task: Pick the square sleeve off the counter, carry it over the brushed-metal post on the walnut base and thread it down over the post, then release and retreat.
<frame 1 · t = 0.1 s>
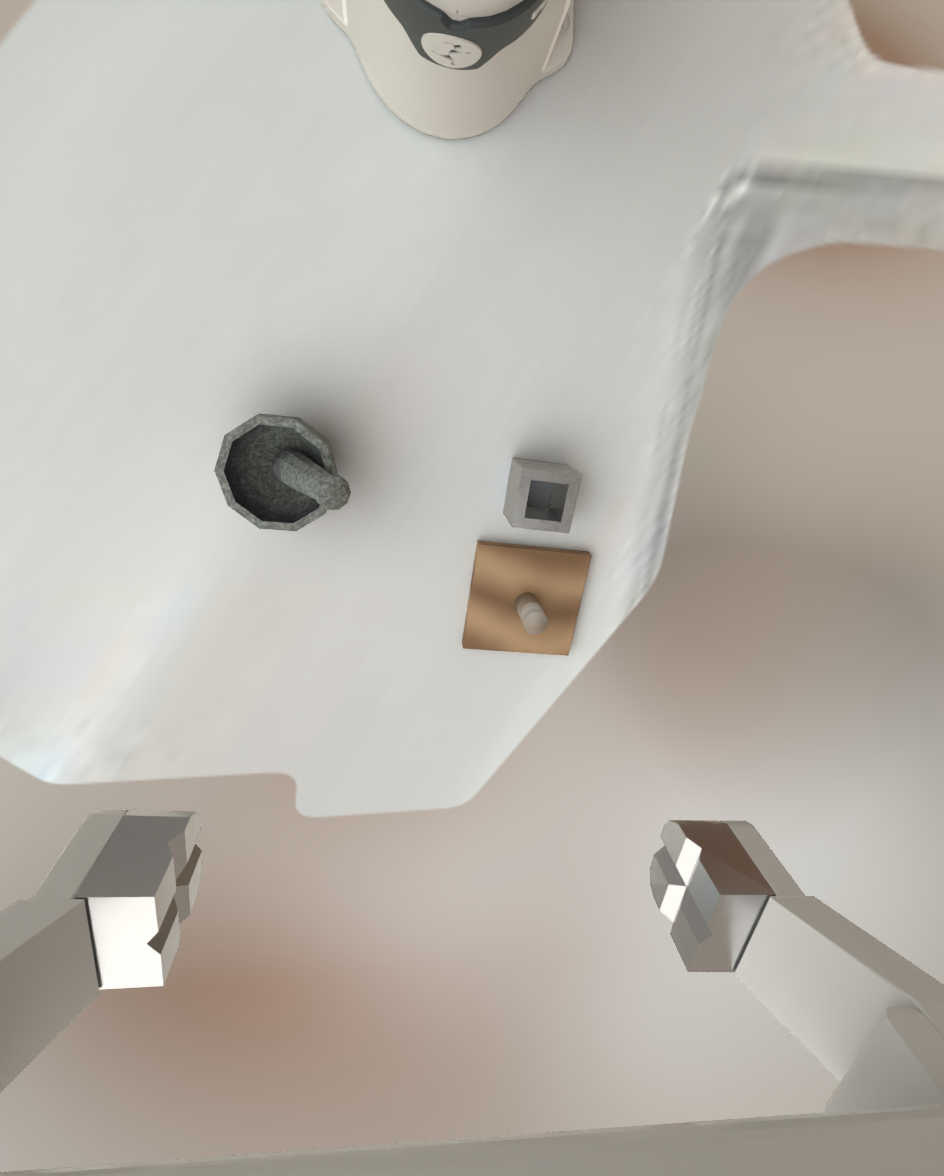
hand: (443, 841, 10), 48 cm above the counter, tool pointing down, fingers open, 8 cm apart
mortar and pestle: (299, 461, 54), on the counter
square sleeve: (534, 489, 57), on the counter
post block: (523, 598, 62), on the counter
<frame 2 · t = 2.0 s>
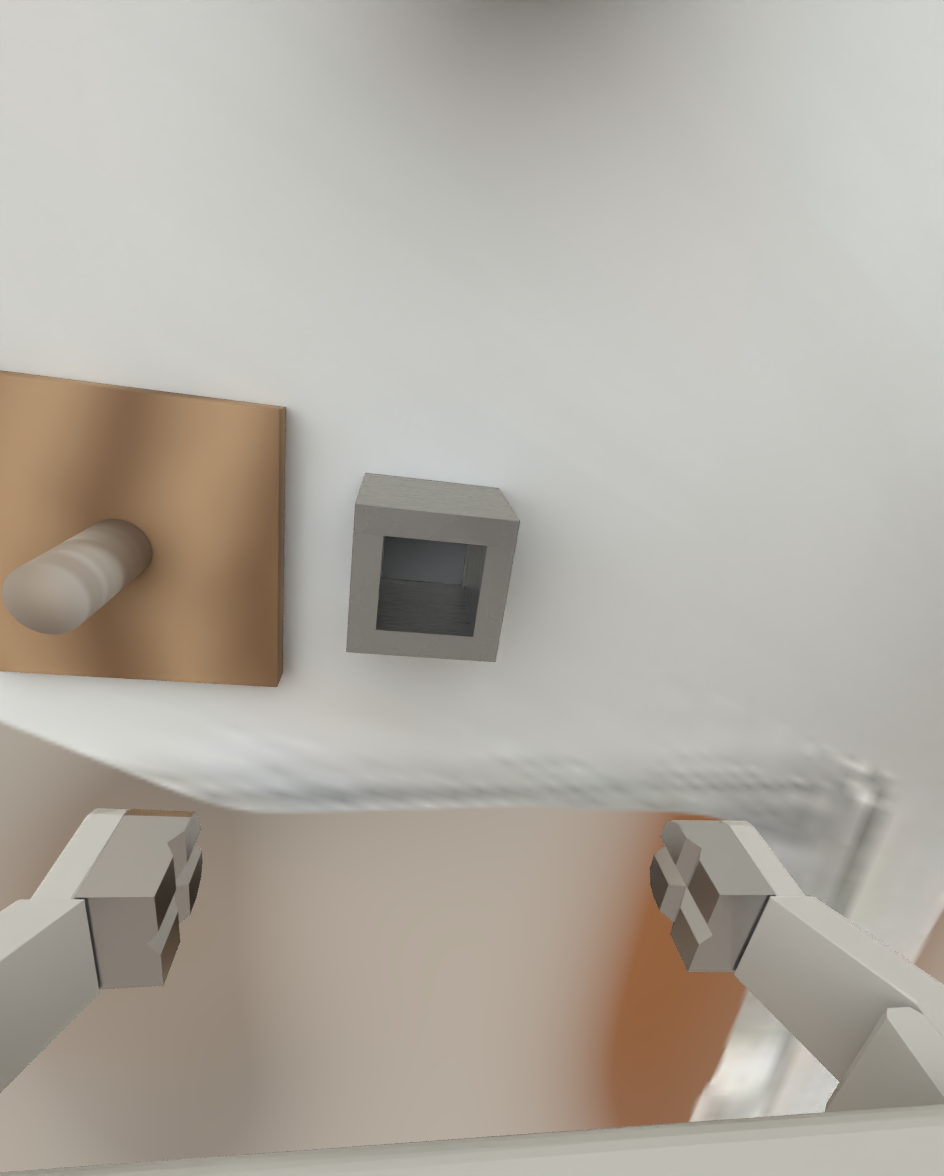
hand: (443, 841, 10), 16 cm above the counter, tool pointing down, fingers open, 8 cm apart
square sleeve: (426, 543, 25), on the counter
post block: (133, 538, 23), on the counter
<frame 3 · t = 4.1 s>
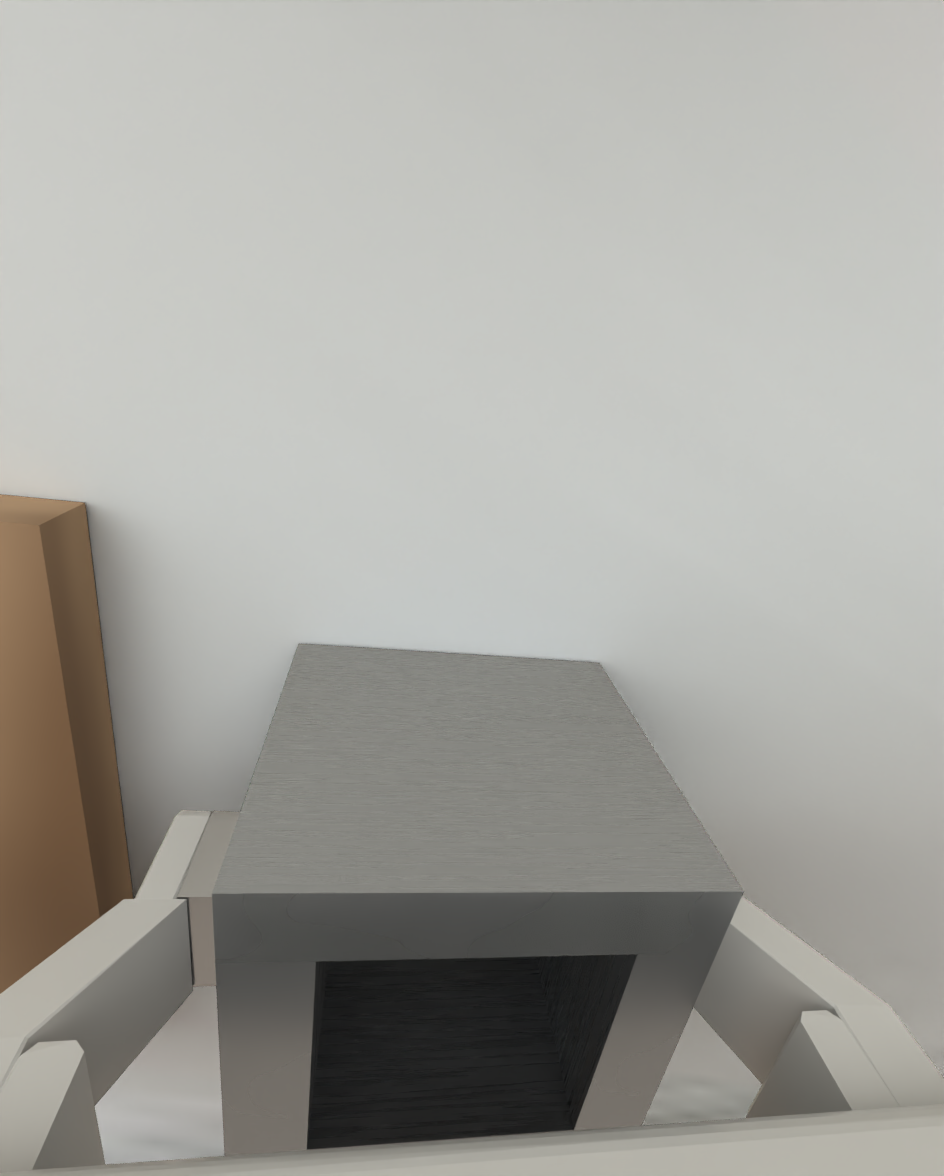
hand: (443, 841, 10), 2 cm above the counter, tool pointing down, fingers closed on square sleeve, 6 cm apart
square sleeve: (438, 774, 11), on the counter, touching gripper
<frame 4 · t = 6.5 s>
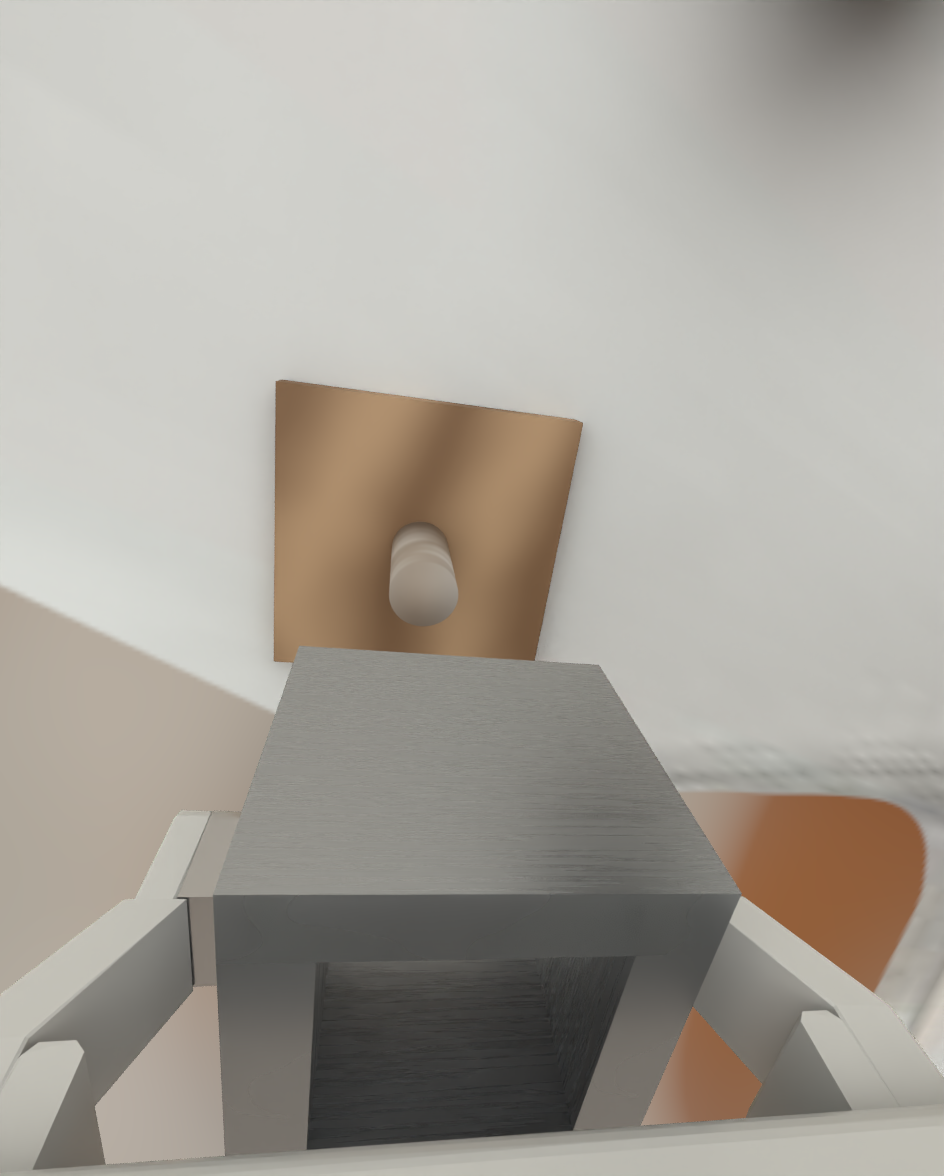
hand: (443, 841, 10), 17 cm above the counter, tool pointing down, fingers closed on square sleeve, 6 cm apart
square sleeve: (438, 776, 11), point 15 cm above the counter, touching gripper
post block: (419, 539, 25), on the counter
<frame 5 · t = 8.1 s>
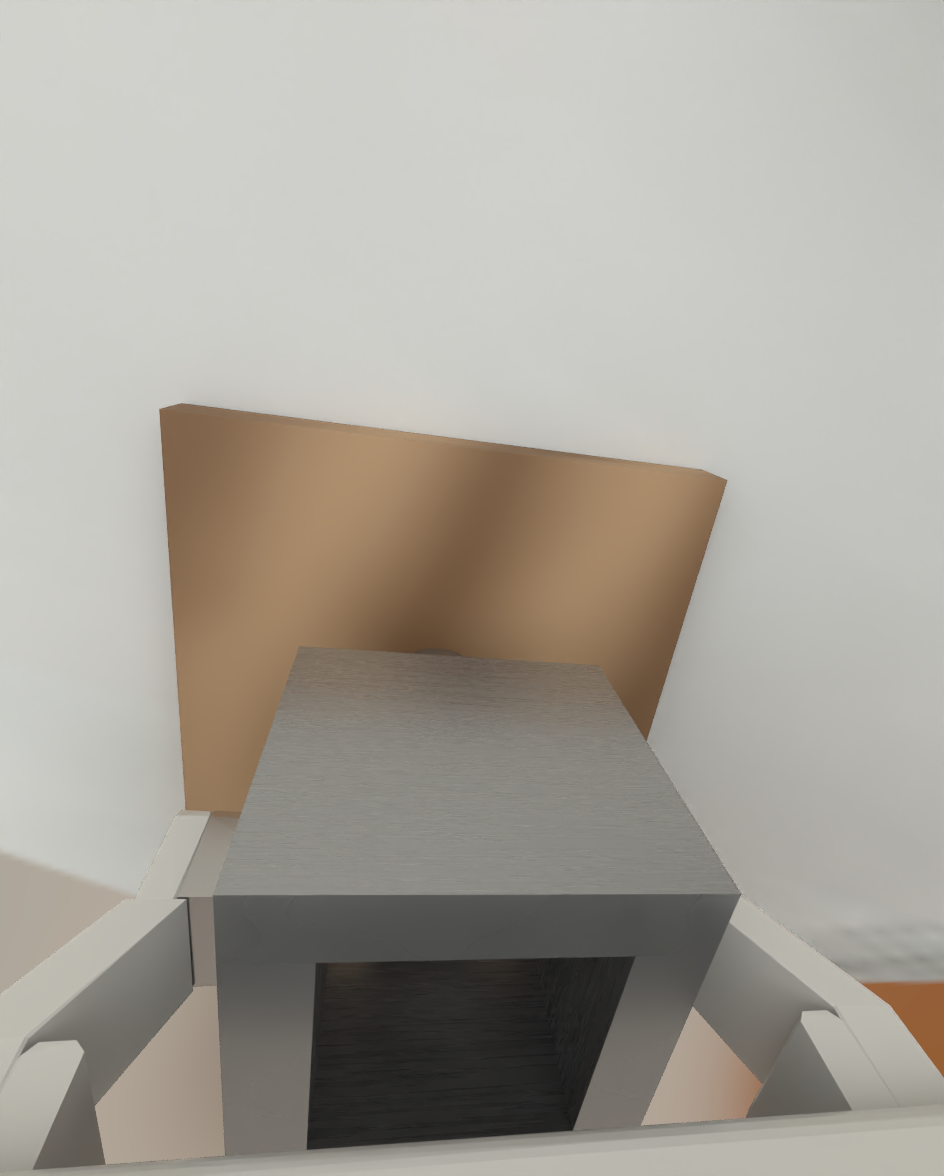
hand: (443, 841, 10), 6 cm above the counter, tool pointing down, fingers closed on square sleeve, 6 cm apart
square sleeve: (438, 776, 11), point 4 cm above the counter, touching gripper
post block: (431, 665, 15), on the counter
when the fingers open (5 cm above the counter, at t = 9.1 s): square sleeve drops 2 cm, resting on post block.
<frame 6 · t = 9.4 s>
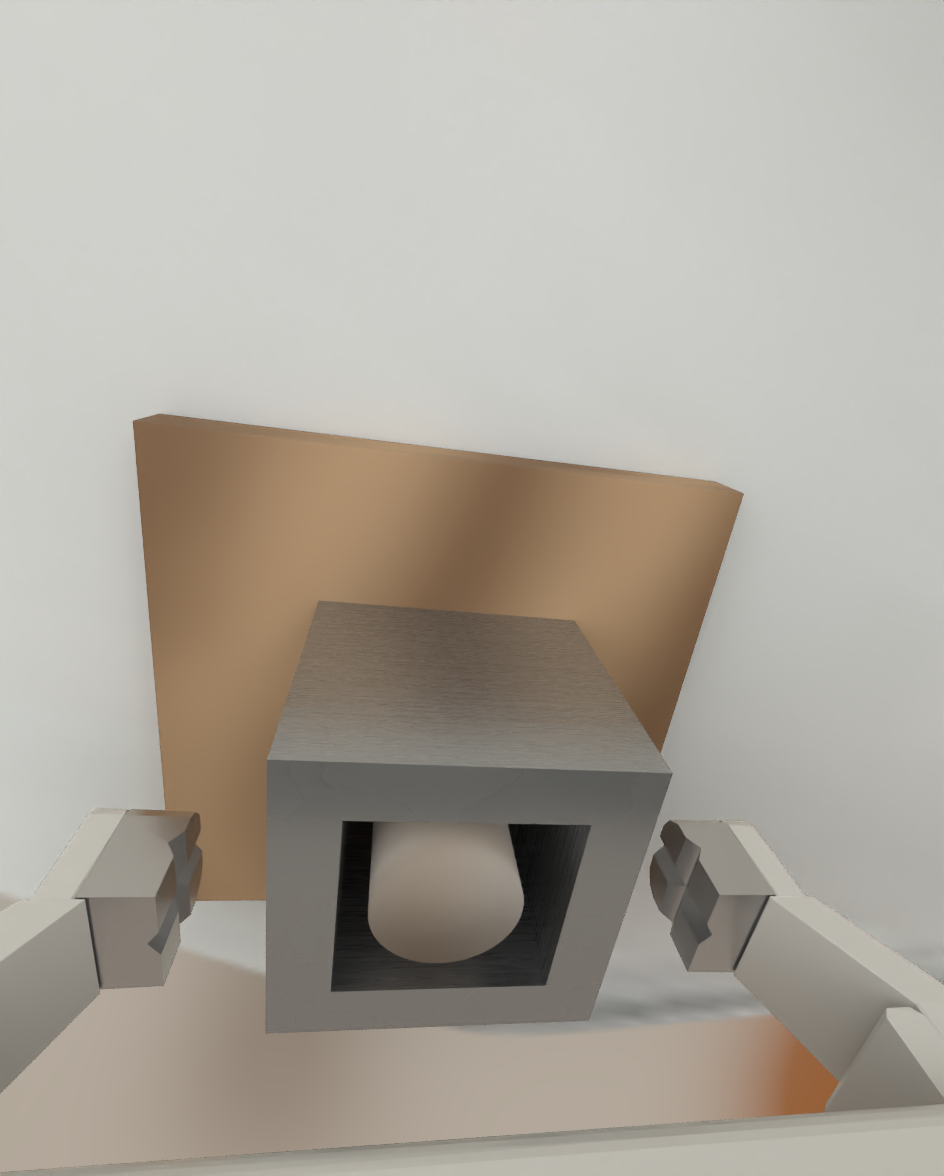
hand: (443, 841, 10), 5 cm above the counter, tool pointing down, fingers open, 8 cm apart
square sleeve: (436, 718, 13), point 1 cm above the counter, touching post block
post block: (428, 688, 14), on the counter
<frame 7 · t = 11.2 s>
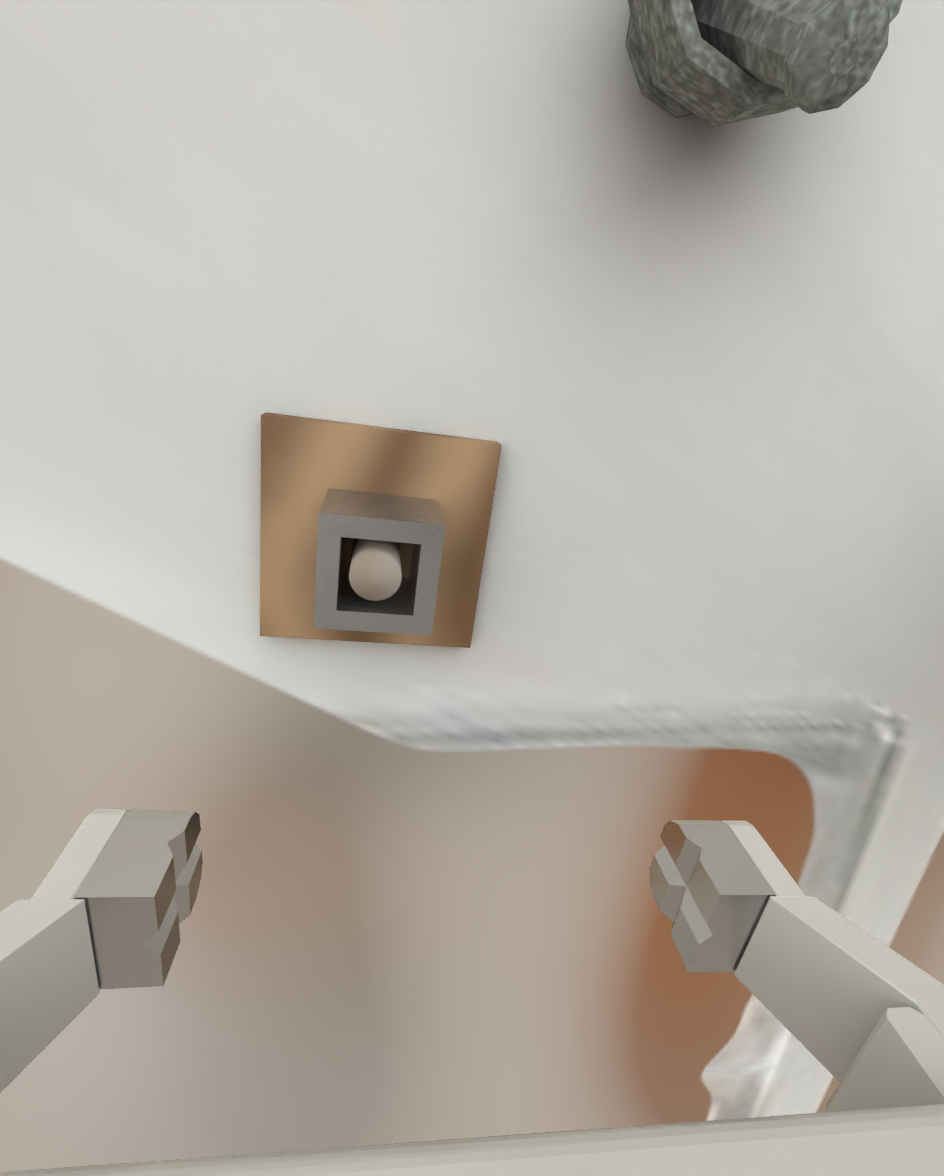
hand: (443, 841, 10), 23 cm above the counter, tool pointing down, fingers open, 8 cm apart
mortar and pestle: (686, 52, 26), on the counter
square sleeve: (379, 544, 31), point 1 cm above the counter, touching post block
post block: (376, 537, 32), on the counter
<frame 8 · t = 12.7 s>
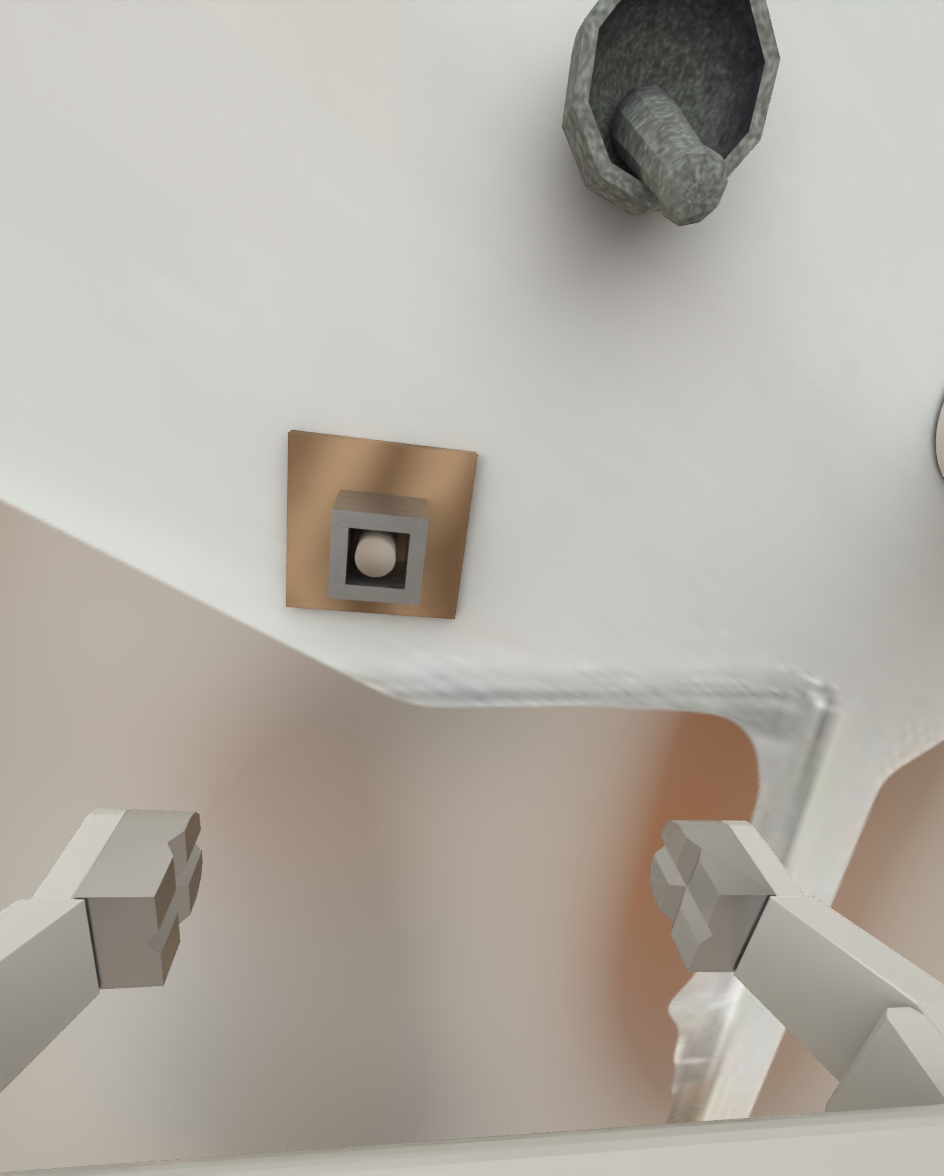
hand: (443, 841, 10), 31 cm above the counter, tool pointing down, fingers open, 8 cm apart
mortar and pestle: (619, 149, 33), on the counter
square sleeve: (380, 534, 38), point 1 cm above the counter, touching post block
post block: (379, 528, 40), on the counter
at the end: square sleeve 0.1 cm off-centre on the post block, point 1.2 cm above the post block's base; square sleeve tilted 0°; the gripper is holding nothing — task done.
